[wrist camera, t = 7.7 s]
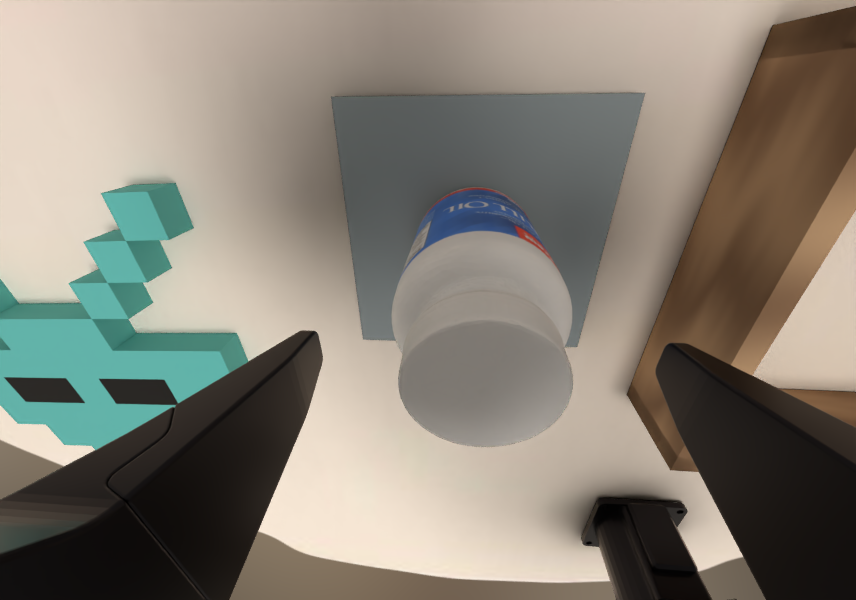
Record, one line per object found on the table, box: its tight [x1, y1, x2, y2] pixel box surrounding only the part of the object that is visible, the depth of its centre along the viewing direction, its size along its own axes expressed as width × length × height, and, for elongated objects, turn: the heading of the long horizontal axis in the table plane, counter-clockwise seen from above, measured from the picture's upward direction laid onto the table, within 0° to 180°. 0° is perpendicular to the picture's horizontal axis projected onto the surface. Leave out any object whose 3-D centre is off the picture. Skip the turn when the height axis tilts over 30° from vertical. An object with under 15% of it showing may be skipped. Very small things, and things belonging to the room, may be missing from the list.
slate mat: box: [331, 93, 645, 347], centre depth 16 cm, size 12×12×1 cm
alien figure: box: [0, 183, 248, 450], centre depth 22 cm, size 20×2×20 cm
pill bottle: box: [392, 187, 573, 447], centre depth 12 cm, size 6×5×10 cm
